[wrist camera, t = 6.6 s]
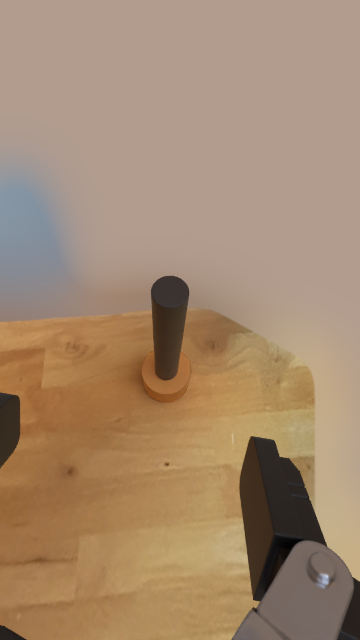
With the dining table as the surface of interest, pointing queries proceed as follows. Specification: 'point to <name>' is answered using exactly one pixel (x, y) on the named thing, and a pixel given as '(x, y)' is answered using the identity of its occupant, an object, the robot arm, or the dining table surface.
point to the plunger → (167, 341)
